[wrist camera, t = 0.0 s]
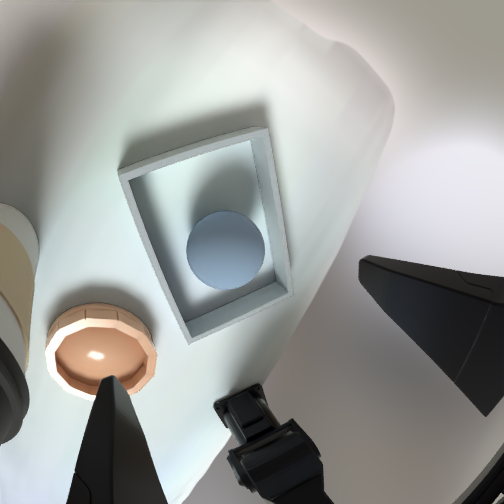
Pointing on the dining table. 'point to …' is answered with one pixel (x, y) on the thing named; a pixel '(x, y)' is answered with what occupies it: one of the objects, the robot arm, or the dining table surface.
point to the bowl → (99, 349)
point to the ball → (225, 250)
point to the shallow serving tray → (274, 223)
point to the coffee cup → (15, 315)
